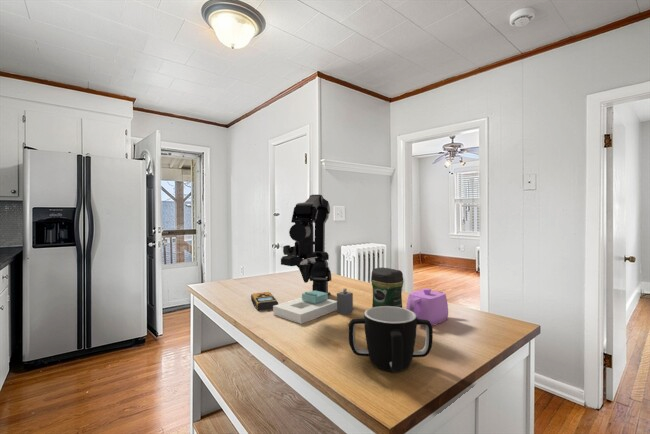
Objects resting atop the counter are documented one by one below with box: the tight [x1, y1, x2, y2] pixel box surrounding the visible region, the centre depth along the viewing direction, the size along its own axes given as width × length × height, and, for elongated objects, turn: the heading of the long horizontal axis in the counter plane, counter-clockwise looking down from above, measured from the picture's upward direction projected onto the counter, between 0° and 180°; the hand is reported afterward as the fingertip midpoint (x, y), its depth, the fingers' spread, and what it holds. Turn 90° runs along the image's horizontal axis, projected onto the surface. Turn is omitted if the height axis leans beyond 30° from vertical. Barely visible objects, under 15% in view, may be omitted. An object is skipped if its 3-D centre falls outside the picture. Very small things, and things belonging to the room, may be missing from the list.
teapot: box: [405, 287, 449, 327], centre depth 105 cm, size 18×10×10 cm, turn 129°
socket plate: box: [272, 297, 337, 325], centre depth 113 cm, size 19×14×3 cm
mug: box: [348, 306, 434, 373], centre depth 74 cm, size 16×16×12 cm
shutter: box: [301, 290, 329, 304], centre depth 116 cm, size 7×7×3 cm
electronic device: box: [250, 291, 279, 311], centre depth 123 cm, size 8×16×3 cm, turn 22°
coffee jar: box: [370, 267, 404, 308], centre depth 97 cm, size 10×8×19 cm
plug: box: [336, 287, 354, 316], centre depth 112 cm, size 4×4×9 cm
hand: (305, 282), depth 111 cm, fingers closed
